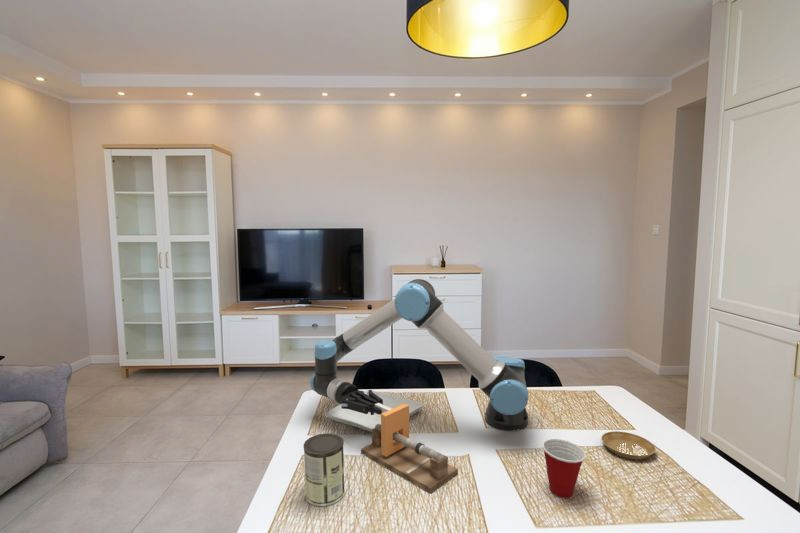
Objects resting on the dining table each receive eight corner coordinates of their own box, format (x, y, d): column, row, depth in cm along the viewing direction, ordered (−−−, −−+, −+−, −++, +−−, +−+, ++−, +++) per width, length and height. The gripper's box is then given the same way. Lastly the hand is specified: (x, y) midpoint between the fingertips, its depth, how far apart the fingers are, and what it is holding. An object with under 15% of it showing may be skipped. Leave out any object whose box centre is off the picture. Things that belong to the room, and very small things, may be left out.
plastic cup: (589, 507, 104) (591, 461, 102) (543, 501, 106) (545, 457, 105) (579, 481, 114) (581, 439, 113) (538, 476, 116) (539, 435, 115)
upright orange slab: (381, 454, 124) (381, 413, 122) (404, 441, 131) (404, 403, 129) (386, 456, 122) (385, 416, 121) (409, 443, 129) (409, 405, 128)
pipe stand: (361, 453, 129) (360, 428, 128) (389, 438, 137) (388, 415, 137) (430, 493, 109) (430, 464, 108) (457, 473, 118) (458, 447, 117)
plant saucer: (594, 451, 129) (594, 443, 129) (609, 433, 140) (609, 426, 140) (648, 470, 119) (648, 461, 119) (659, 449, 130) (660, 441, 130)
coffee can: (317, 478, 116) (316, 430, 115) (351, 486, 113) (350, 436, 111) (297, 501, 106) (295, 449, 105) (333, 510, 103) (331, 456, 102)
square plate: (425, 412, 158) (425, 402, 158) (384, 444, 135) (384, 432, 135) (368, 396, 172) (368, 387, 172) (322, 423, 150) (322, 412, 149)
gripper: (358, 397, 147) (406, 418, 131) (327, 409, 138) (375, 433, 122) (357, 376, 147) (405, 395, 130) (327, 387, 137) (374, 409, 121)
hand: (391, 414), depth 126 cm, fingers closed
